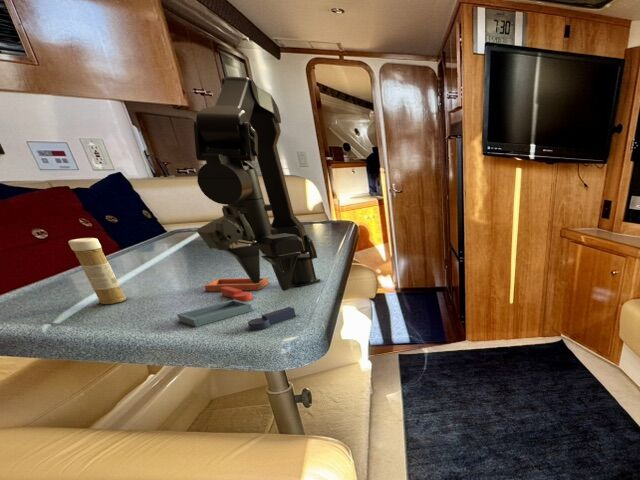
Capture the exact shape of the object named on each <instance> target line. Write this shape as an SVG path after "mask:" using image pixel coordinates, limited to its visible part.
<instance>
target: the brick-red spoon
mask: <svg viewBox="0 0 640 480" xmlns="http://www.w3.org/2000/svg"><path fill="white" fill-rule="evenodd" d="M220 289H221V291H220V292H221V295H222V296H223V297H228V298H232V299H233V300H238V301H241V302H247V301H250V300H252V299H253V295H252V293H251V292H249V291H243V290H239V289H235V288H232V287H228V286H226V287H221V288H220Z"/></svg>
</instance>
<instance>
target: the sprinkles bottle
mask: <svg viewBox="0 0 640 480" xmlns="http://www.w3.org/2000/svg"><path fill="white" fill-rule="evenodd" d="M67 243H68V245H69V247H70V249H71V251H73V253H74V254H75V256H76V259H77V260H78V262H79V264H80V265H81V268H82V270H83V272H84V274H85V276H86V278H87V280H88V282H89V284H90V287H91V288H92V290H93V291H94V293H95V295H96V297H97V298H98V302H99V303H100V304H102V305H112V304H117V303H118V304H119V303H122V302H125V301H126V300H127V297H126V296H125V295H124V292H123V290H122V289H121V287H120V286H121V285H120V283H119V281H118V279H117V277H116V275H115V273H114V271H113V268H112V266H111V265H110V262H109V261H108V259H107V257H106V256H105V253H104V251H103V248H102V245H101V243H100V241H99V239H98V238H95V237H83V238H82V237H81V238H75V239H70V240H68V242H67Z"/></svg>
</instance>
